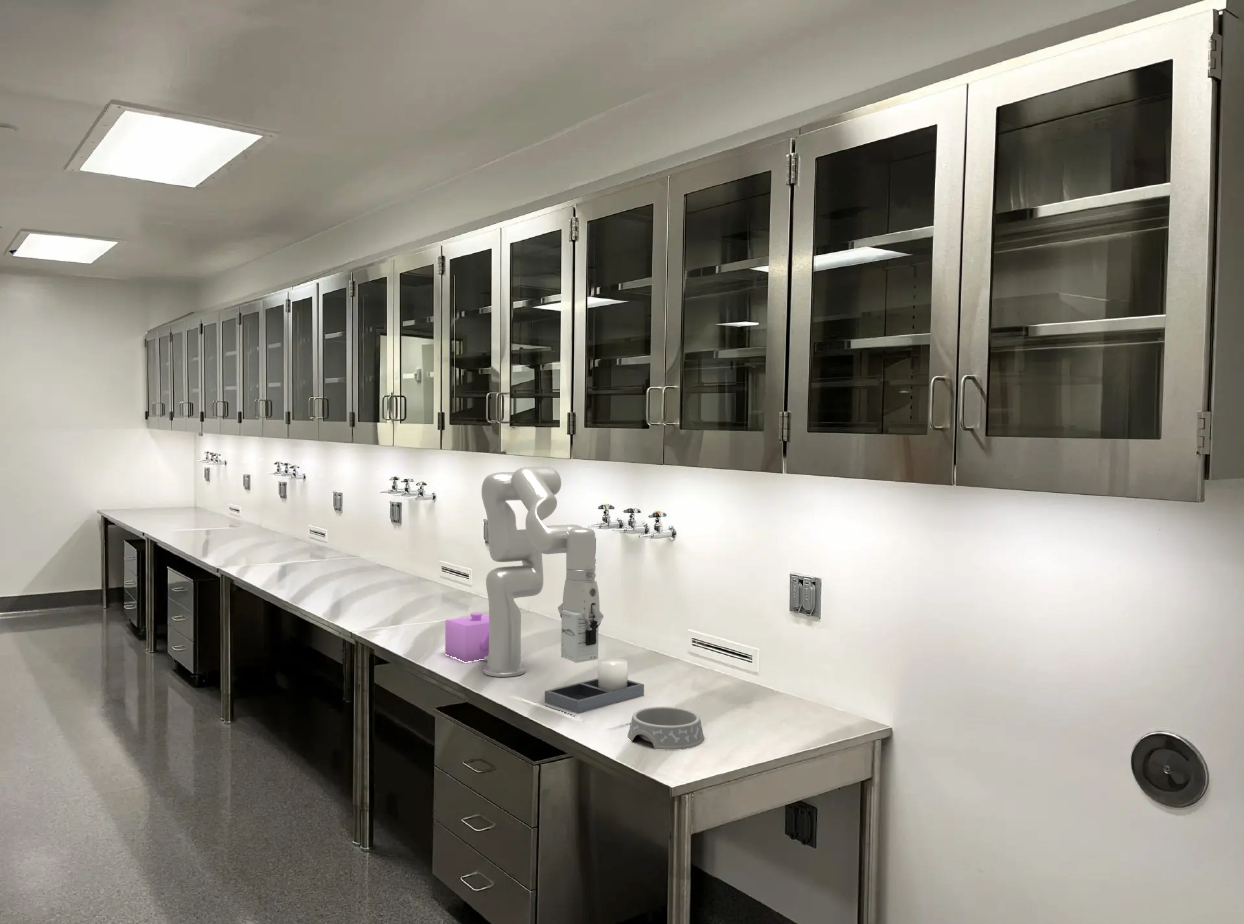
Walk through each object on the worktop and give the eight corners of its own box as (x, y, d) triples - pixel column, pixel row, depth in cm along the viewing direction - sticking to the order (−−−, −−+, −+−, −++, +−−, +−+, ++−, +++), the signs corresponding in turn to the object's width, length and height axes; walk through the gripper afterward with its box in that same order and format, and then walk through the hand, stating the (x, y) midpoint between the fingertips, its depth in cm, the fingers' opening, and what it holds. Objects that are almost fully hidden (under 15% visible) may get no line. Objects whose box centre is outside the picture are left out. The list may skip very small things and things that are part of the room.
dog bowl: (658, 721, 228) (658, 700, 228) (718, 738, 216) (718, 715, 216) (613, 737, 215) (613, 715, 215) (674, 756, 203) (674, 732, 203)
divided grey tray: (544, 706, 238) (544, 691, 238) (610, 689, 255) (610, 674, 255) (577, 717, 229) (577, 701, 229) (643, 699, 246) (644, 684, 246)
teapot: (477, 668, 276) (477, 622, 276) (437, 652, 296) (438, 610, 295) (519, 661, 286) (519, 617, 286) (478, 646, 305) (478, 605, 305)
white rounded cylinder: (591, 693, 247) (592, 661, 247) (613, 688, 252) (613, 656, 252) (612, 700, 241) (612, 666, 241) (633, 694, 247) (633, 661, 246)
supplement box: (560, 657, 239) (560, 609, 238) (583, 654, 243) (583, 607, 243) (575, 663, 233) (575, 614, 232) (599, 659, 237) (599, 611, 237)
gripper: (613, 577, 234) (613, 645, 234) (569, 570, 246) (568, 634, 247) (592, 580, 228) (591, 650, 229) (548, 572, 241) (547, 638, 241)
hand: (579, 641), depth 238 cm, fingers closed on supplement box, 7 cm apart
